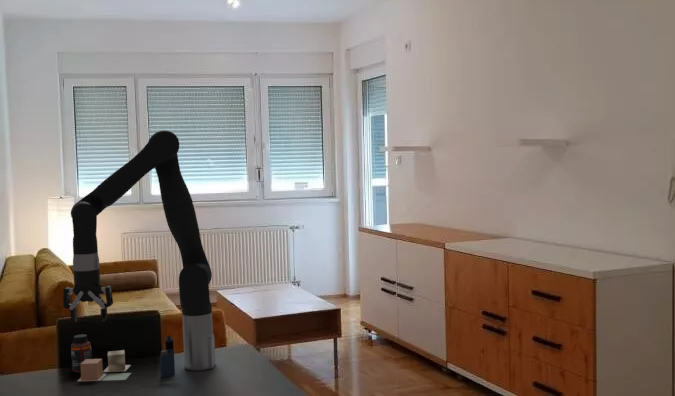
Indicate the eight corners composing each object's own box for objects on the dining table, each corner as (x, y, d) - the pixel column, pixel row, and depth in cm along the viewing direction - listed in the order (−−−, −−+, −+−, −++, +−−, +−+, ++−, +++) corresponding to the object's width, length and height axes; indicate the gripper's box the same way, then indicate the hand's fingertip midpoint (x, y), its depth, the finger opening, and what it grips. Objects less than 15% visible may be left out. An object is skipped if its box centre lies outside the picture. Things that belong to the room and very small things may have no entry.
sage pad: (131, 374, 235) (131, 372, 235) (125, 381, 228) (125, 379, 228) (108, 374, 235) (108, 373, 235) (102, 381, 228) (102, 380, 228)
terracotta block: (102, 374, 234) (102, 358, 234) (97, 379, 229) (97, 363, 229) (86, 375, 234) (85, 359, 234) (81, 380, 229) (80, 363, 229)
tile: (131, 366, 244) (131, 364, 244) (125, 372, 237) (125, 371, 237) (109, 366, 244) (109, 365, 244) (102, 373, 237) (102, 372, 237)
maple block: (125, 365, 244) (124, 350, 244) (125, 369, 239) (124, 354, 239) (108, 367, 242) (108, 351, 242) (108, 371, 238) (107, 355, 237)
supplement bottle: (95, 368, 243) (93, 333, 242) (87, 373, 237) (85, 337, 237) (77, 368, 244) (75, 333, 243) (69, 373, 238) (67, 338, 237)
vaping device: (176, 374, 234) (175, 335, 233) (166, 379, 229) (164, 339, 228) (169, 373, 235) (168, 335, 234) (159, 378, 230) (157, 339, 229)
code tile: (107, 374, 235) (107, 373, 235) (100, 381, 228) (100, 380, 228) (84, 375, 235) (84, 374, 235) (76, 382, 228) (76, 381, 228)
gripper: (113, 265, 233) (116, 317, 234) (67, 266, 233) (69, 319, 234) (106, 269, 226) (109, 323, 227) (58, 270, 226) (61, 324, 227)
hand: (89, 321), depth 231 cm, fingers open, 8 cm apart
